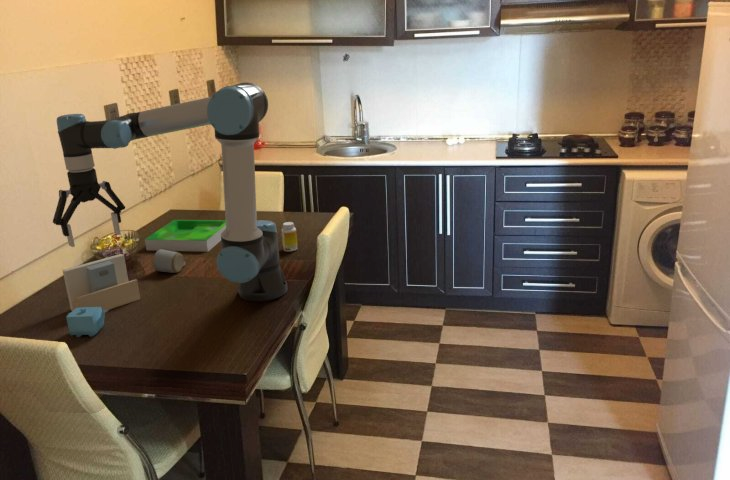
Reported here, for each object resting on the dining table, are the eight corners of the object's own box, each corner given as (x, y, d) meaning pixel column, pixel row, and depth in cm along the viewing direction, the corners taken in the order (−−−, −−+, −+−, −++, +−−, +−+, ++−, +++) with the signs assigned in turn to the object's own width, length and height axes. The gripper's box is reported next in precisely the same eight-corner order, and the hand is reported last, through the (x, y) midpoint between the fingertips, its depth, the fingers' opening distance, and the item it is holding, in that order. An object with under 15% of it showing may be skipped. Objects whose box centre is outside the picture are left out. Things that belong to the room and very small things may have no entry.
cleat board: (140, 299, 194) (133, 260, 190) (82, 318, 183) (73, 277, 178) (128, 291, 200) (121, 253, 196) (70, 309, 189) (62, 269, 185)
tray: (208, 252, 234) (206, 240, 233) (146, 251, 238) (144, 239, 237) (232, 231, 257) (230, 220, 256) (175, 231, 262) (174, 219, 260)
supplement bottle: (300, 249, 232) (298, 223, 229) (288, 253, 229) (285, 226, 226) (292, 245, 236) (290, 220, 233) (280, 249, 233) (277, 223, 230)
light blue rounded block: (116, 326, 177) (112, 302, 174) (108, 337, 171) (103, 312, 168) (75, 328, 177) (69, 304, 174) (65, 338, 171) (59, 313, 169)
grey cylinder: (174, 276, 212) (171, 255, 209) (154, 274, 214) (151, 253, 211) (191, 265, 221) (189, 245, 219) (171, 264, 223) (169, 243, 221)
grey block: (120, 294, 191) (114, 263, 188) (97, 301, 186) (91, 270, 183) (114, 290, 194) (108, 260, 191) (91, 297, 189) (85, 267, 186)
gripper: (117, 160, 188) (130, 226, 195) (30, 176, 172) (46, 248, 179) (128, 162, 183) (140, 231, 190) (39, 179, 167) (56, 254, 174)
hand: (95, 239), depth 184 cm, fingers open, 13 cm apart
